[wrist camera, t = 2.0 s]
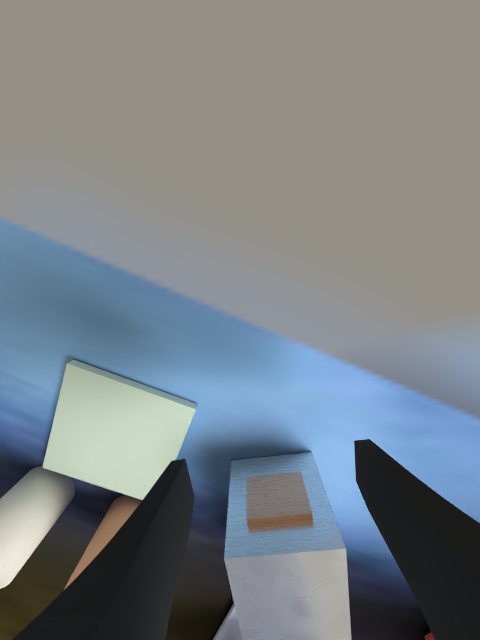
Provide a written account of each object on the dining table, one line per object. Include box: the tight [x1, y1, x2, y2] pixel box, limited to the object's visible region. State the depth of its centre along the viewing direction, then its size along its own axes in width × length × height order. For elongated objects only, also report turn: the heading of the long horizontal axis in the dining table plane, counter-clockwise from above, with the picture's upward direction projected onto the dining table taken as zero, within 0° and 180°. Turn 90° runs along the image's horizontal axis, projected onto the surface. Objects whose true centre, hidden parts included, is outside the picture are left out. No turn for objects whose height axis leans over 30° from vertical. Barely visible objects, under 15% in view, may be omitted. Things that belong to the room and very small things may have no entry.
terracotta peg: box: [64, 495, 142, 590], centre depth 16 cm, size 4×4×5 cm
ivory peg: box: [0, 466, 75, 589], centre depth 16 cm, size 4×4×5 cm
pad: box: [42, 360, 198, 500], centre depth 17 cm, size 9×9×1 cm
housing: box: [224, 452, 351, 640], centre depth 15 cm, size 9×6×6 cm
